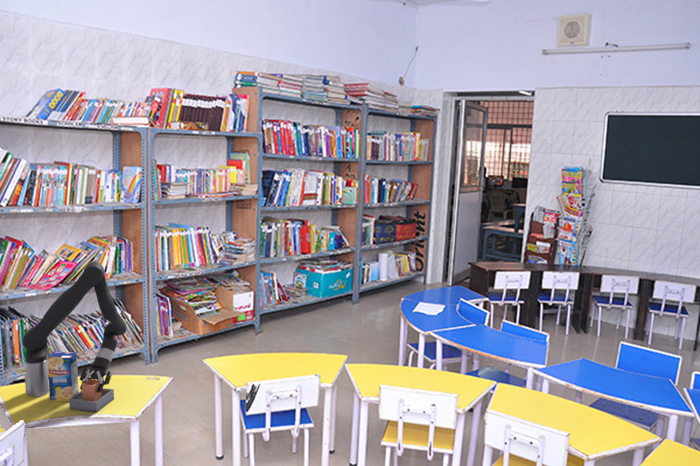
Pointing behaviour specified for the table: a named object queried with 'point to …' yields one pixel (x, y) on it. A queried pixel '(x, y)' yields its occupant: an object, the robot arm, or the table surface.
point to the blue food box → (62, 375)
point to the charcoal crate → (91, 406)
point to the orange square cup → (91, 390)
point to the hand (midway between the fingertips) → (89, 391)
